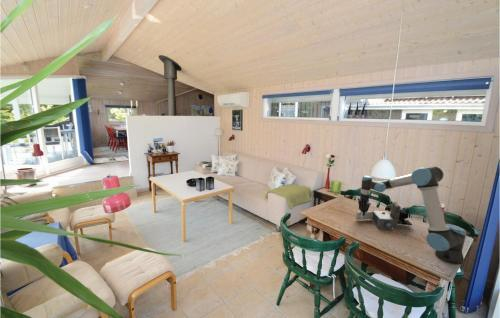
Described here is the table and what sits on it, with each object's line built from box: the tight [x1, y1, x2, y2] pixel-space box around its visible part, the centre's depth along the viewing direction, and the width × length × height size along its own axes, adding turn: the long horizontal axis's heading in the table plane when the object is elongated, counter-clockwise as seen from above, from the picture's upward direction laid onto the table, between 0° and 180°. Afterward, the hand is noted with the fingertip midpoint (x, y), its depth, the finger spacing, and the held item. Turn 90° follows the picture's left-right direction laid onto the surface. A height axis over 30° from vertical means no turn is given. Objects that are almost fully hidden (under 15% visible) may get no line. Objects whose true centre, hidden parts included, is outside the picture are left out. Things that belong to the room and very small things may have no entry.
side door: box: [355, 211, 373, 221], centre depth 215 cm, size 15×2×8 cm, turn 97°
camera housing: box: [371, 210, 393, 230], centre depth 206 cm, size 19×11×10 cm, turn 171°
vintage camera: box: [389, 201, 413, 228], centre depth 205 cm, size 10×16×20 cm, turn 78°
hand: (362, 218), depth 212 cm, fingers closed
